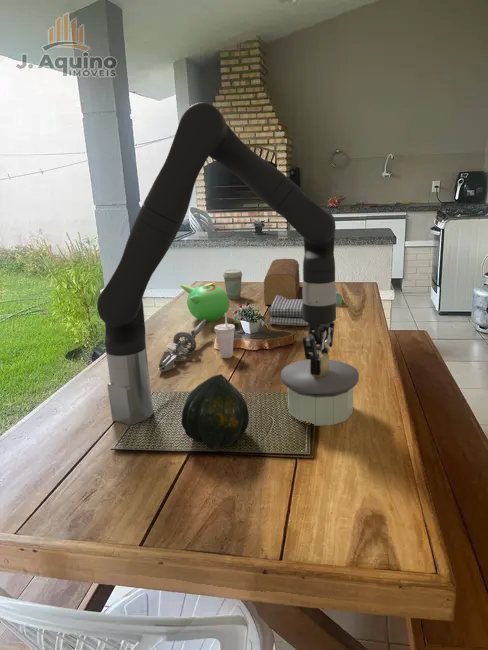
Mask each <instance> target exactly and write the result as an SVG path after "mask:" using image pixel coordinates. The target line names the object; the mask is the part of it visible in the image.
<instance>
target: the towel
mask: <svg viewBox="0 0 488 650" xmlns="http://www.w3.org/2000/svg"><path fill="white" fill-rule="evenodd" d="M268 315H269V325H272V324H277V325H276V326H297V327H298V326H300V327H301V326H303V327H305V326H306V327H307V326H309V324H308V323H307V322H305V321H304V320H303V307H302V298H300V299H299V298H298V299H292V300H291V299H287V298H285V297H282V296H279V295H277V296H276V298H275V300H274V301H273V303H272V305H271V306H269V312H268Z"/></svg>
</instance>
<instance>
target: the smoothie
mask: <svg viewBox="0 0 488 650" xmlns="http://www.w3.org/2000/svg"><path fill="white" fill-rule="evenodd" d="M227 313H228V312H227ZM227 313H225V315H224V320H225V321H224V323H221V324H216V325H215V326H214V332H215V335H216V340H217V344H218V350H219V354H220V358H223V359H230V358H232V357H233V354H234V338H235V337H234V336H235V330H236V326H235V324H231V323H228V316H227Z"/></svg>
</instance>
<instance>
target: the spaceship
mask: <svg viewBox="0 0 488 650" xmlns="http://www.w3.org/2000/svg"><path fill="white" fill-rule="evenodd" d="M206 324H207V320H204V321H201V322H200V323H199V324H198V325H196V326H195V327H194V328H193V329H192V330H191V331H189V332H186V331H179V332H177V333H175V334H174V336H173V339H172V340H173V342H171V341H170V342H169V343H168V344H167V345H165V347H167V349H165V351H163V353H162V356H161V357H160V360H159V364H158V368H157V370H158V371H160V372H167V371H169V370H172V369H174V366H175V365H174V363H175V360H180V361H185V360H186V358H188V356H187V355H191V354H192V353H194V352H195V351H196V349H197V342H196V336H197V335H198V334H200V332H201V331H202V330H203V329H204V328H205V326H206ZM180 339H181V340H180ZM180 353H181V354H180Z"/></svg>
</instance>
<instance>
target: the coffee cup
mask: <svg viewBox="0 0 488 650" xmlns="http://www.w3.org/2000/svg"><path fill="white" fill-rule="evenodd" d="M222 277H223V280H224V285H225V286H224V287H225V292H226V294H227V296H228V298H229V300H238V299H241V293H242V277H243V273H242V270H240V269H227V270H224V271H223V276H222Z"/></svg>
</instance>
